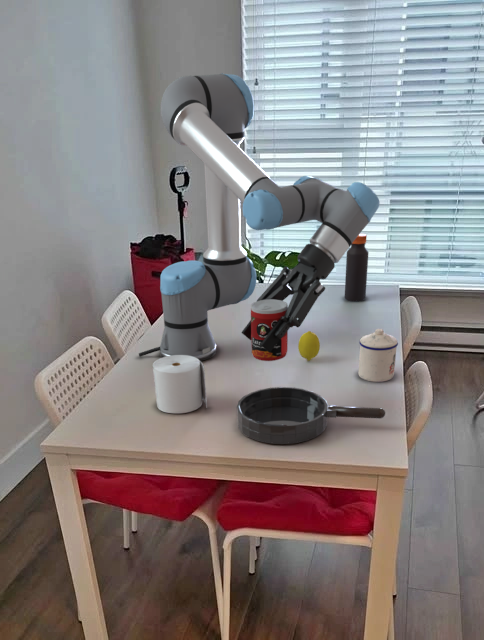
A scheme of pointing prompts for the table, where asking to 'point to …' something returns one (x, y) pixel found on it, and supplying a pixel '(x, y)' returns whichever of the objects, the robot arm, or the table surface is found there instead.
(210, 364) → the table surface
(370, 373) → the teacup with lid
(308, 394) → the frying pan
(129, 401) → the table surface
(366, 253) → the bottle
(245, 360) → the table surface
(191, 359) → the toilet tissue
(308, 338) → the lemon
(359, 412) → the pan handle
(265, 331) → the canned food
